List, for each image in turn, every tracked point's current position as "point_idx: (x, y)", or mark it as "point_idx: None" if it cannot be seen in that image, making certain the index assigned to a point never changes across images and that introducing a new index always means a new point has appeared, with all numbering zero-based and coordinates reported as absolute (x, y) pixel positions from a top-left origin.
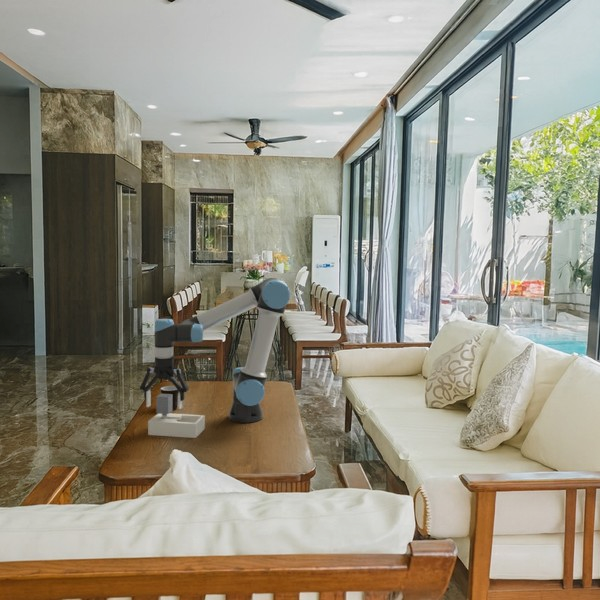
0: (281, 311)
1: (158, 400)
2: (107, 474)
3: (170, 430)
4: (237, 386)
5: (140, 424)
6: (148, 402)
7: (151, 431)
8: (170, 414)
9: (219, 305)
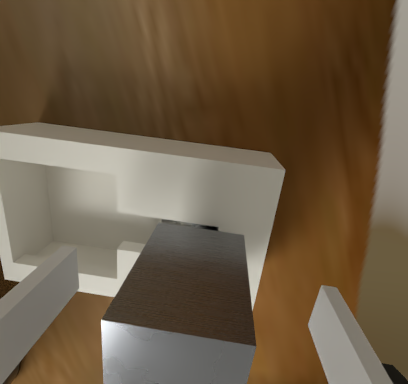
0: None
1: (228, 304)
2: None
3: (149, 142)
4: None
5: (333, 286)
6: (334, 321)
7: (255, 153)
8: None
9: None
